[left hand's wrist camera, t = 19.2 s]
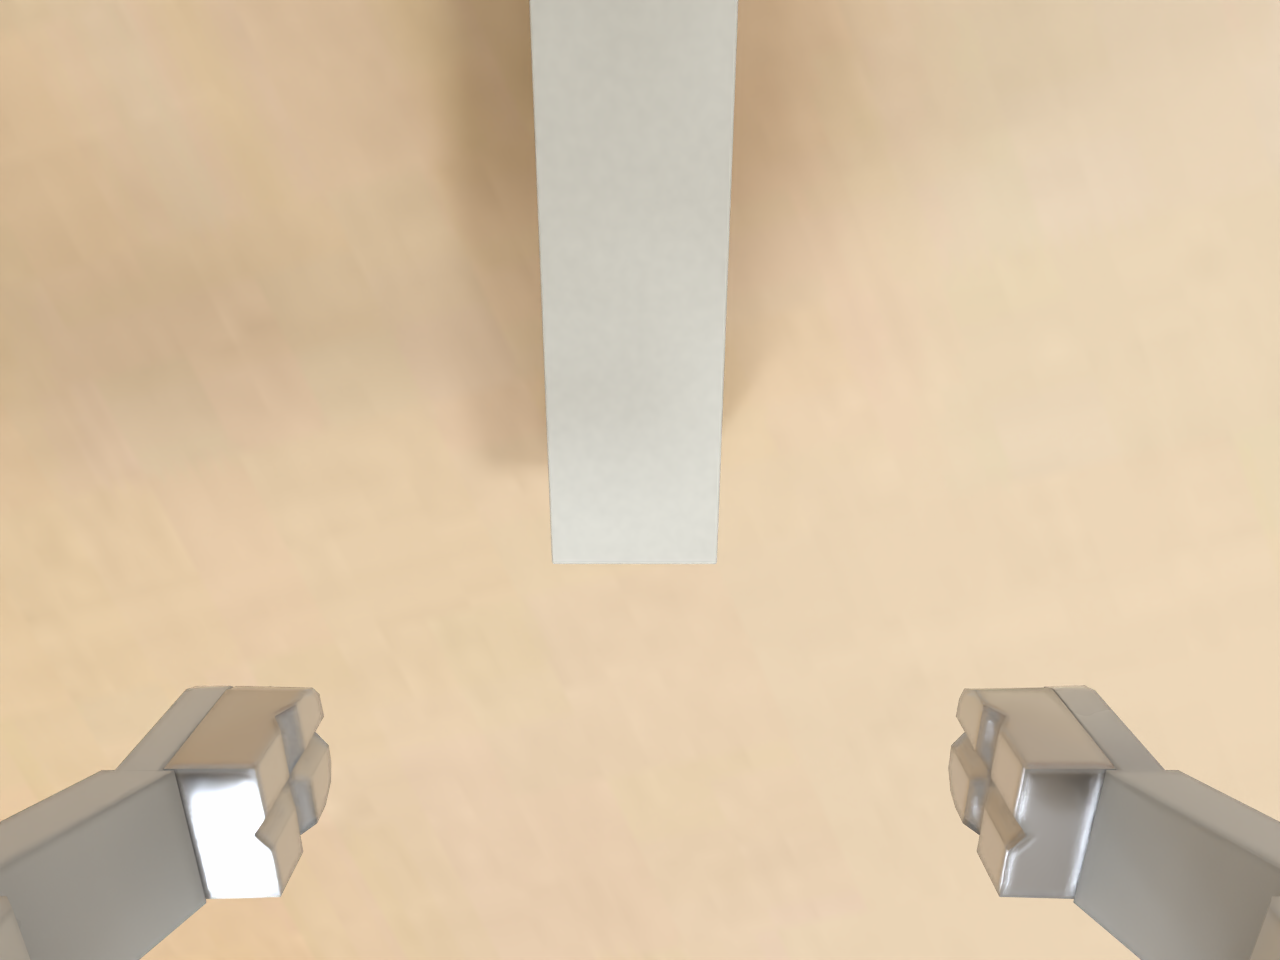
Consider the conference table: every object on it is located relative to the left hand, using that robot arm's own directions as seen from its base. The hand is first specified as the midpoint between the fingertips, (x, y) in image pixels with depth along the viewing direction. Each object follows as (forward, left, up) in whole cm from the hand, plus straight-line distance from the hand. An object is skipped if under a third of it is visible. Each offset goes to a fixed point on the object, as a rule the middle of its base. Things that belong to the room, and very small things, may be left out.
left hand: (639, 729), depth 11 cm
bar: (+4, +5, -22) cm, 24 cm away
